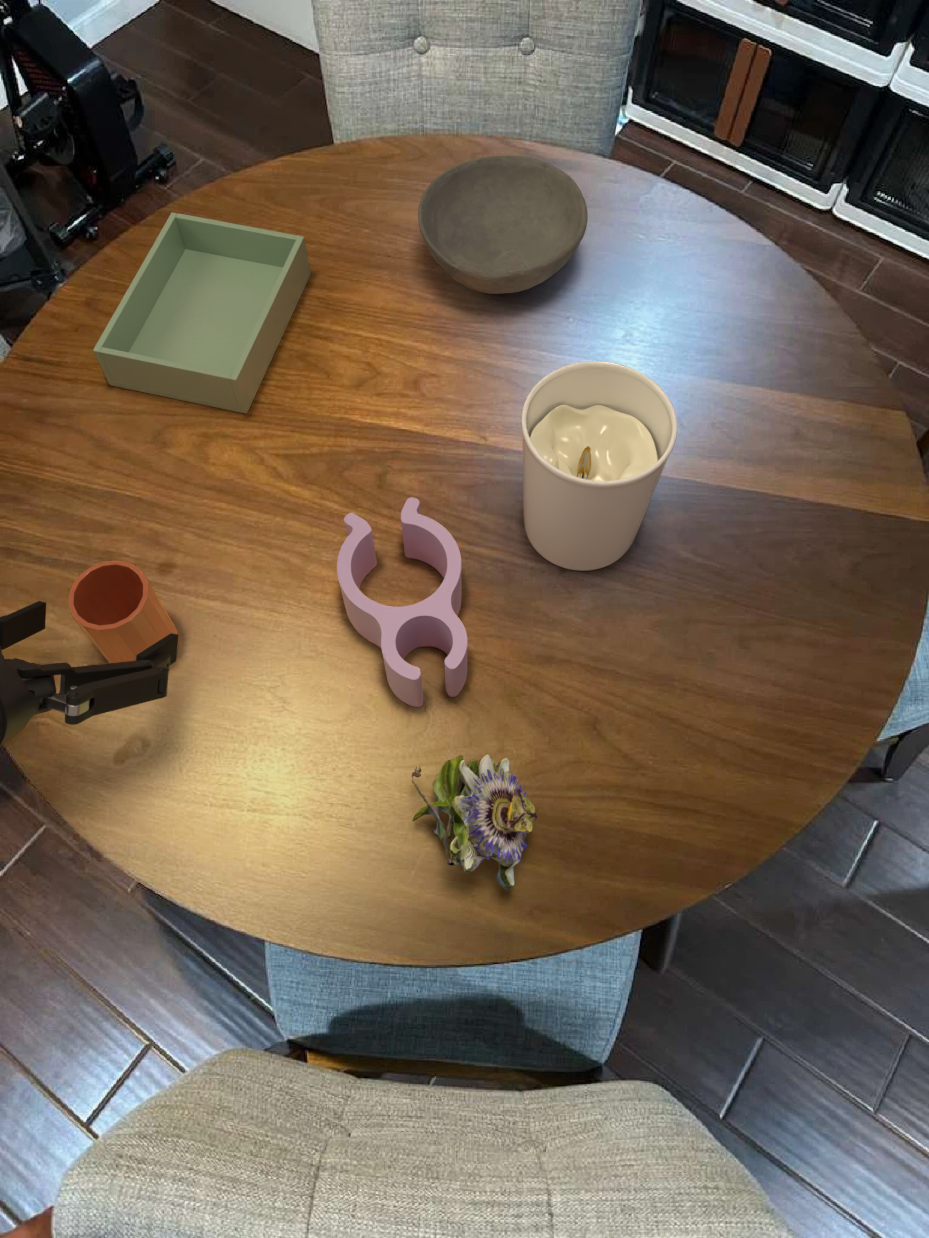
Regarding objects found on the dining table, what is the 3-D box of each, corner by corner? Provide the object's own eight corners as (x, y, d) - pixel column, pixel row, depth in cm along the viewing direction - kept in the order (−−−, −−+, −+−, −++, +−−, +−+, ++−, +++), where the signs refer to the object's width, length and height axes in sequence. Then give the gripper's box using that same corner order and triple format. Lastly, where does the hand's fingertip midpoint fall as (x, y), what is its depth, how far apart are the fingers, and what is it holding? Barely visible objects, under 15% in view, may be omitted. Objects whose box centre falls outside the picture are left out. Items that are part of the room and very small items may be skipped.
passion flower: (511, 847, 96) (546, 896, 85) (402, 853, 94) (423, 904, 82) (514, 737, 95) (550, 771, 83) (404, 740, 92) (425, 776, 81)
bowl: (585, 323, 121) (592, 273, 114) (417, 322, 121) (414, 273, 114) (577, 205, 130) (583, 153, 123) (422, 205, 131) (420, 152, 123)
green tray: (109, 385, 116) (92, 350, 111) (184, 249, 127) (171, 211, 122) (247, 414, 114) (236, 380, 109) (311, 274, 125) (304, 236, 119)
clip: (495, 684, 98) (497, 656, 92) (377, 719, 97) (371, 692, 91) (439, 526, 107) (437, 490, 101) (329, 555, 105) (321, 520, 99)
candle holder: (505, 475, 110) (511, 366, 94) (632, 464, 111) (660, 354, 95) (522, 587, 103) (532, 491, 87) (658, 574, 104) (692, 476, 88)
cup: (95, 668, 99) (54, 619, 90) (124, 606, 103) (88, 553, 93) (162, 684, 99) (128, 637, 89) (189, 622, 102) (160, 569, 92)
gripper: (-190, 720, 75) (-13, 637, 95) (107, 800, 72) (226, 697, 92) (-194, 630, 72) (-11, 564, 92) (113, 709, 69) (234, 623, 89)
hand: (107, 630), depth 92 cm, fingers open, 13 cm apart
